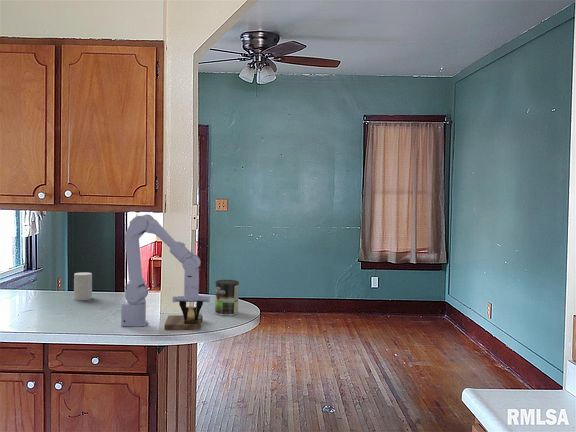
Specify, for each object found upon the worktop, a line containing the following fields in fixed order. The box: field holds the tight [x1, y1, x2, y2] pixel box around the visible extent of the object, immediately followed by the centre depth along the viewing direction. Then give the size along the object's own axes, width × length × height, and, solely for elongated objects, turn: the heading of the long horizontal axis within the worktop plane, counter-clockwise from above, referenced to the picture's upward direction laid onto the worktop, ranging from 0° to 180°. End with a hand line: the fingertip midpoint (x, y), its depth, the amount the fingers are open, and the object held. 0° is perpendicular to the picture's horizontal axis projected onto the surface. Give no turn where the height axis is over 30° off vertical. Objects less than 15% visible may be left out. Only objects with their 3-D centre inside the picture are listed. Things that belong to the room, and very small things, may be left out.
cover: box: [183, 309, 202, 319], centre depth 253 cm, size 7×7×2 cm
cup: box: [73, 272, 93, 301], centre depth 295 cm, size 8×8×12 cm
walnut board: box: [163, 314, 203, 331], centre depth 248 cm, size 14×16×2 cm
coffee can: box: [214, 279, 240, 317], centre depth 270 cm, size 10×10×14 cm
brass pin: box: [186, 305, 196, 324], centre depth 244 cm, size 4×4×6 cm
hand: (191, 320), depth 244 cm, fingers closed on brass pin, 4 cm apart
